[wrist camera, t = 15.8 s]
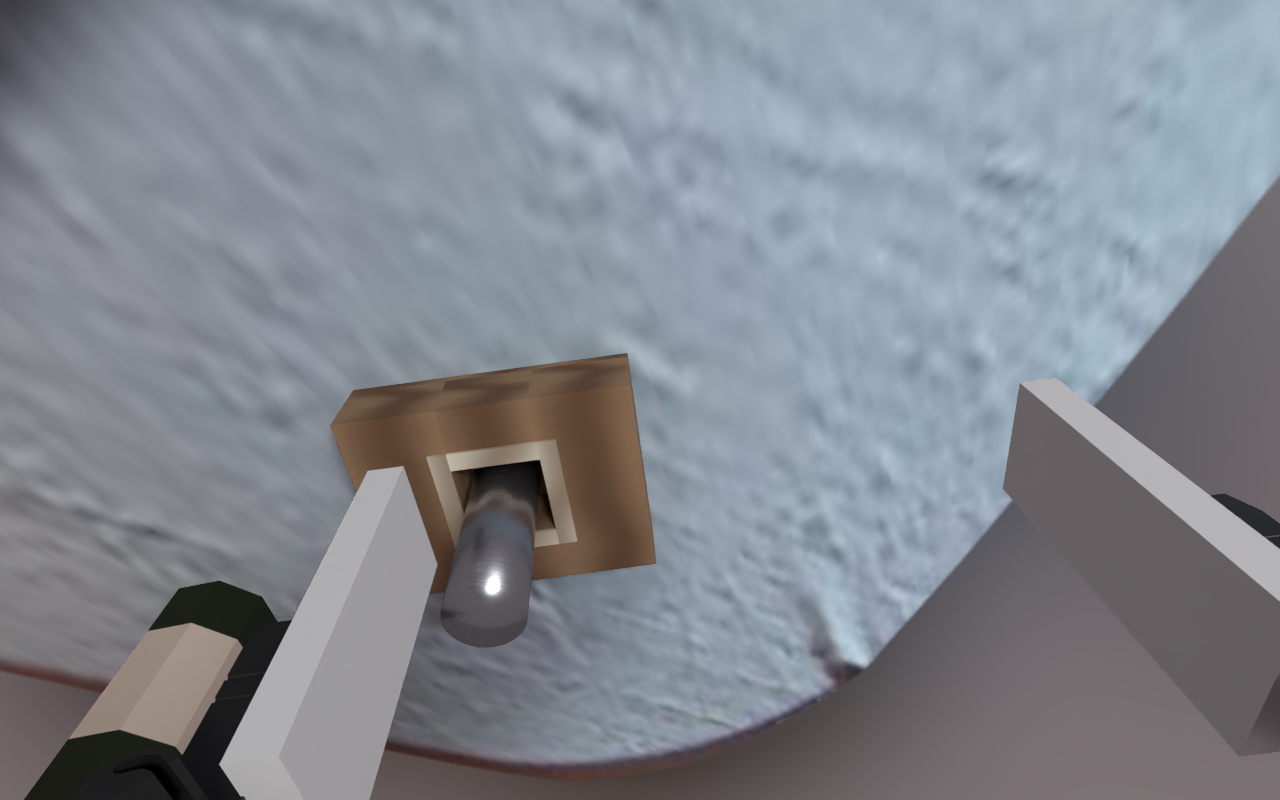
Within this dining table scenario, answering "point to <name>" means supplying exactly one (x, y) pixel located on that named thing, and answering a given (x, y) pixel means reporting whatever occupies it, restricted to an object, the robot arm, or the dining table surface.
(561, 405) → the socket
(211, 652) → the wine bottle
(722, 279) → the dining table surface
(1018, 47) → the dining table surface
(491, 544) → the peg
